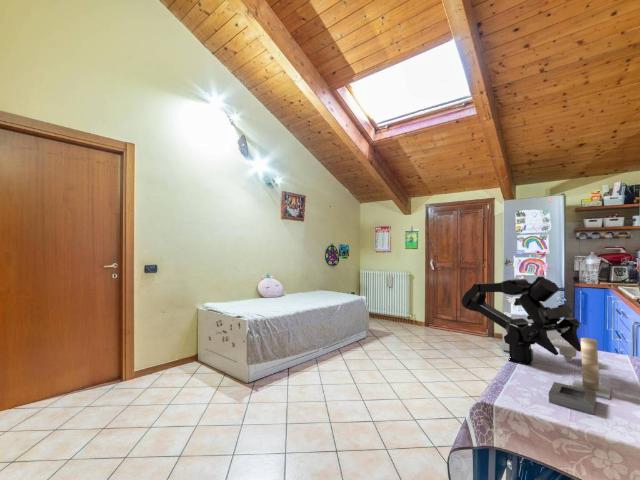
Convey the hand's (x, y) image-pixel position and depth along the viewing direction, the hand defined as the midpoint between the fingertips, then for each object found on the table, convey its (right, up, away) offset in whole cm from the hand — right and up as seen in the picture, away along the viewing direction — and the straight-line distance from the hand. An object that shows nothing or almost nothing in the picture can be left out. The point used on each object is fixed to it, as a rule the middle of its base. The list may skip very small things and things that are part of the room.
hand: (569, 352), depth 93 cm
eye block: (-9, -9, -12) cm, 17 cm away
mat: (+2, -8, -6) cm, 10 cm away
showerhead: (+13, -9, +17) cm, 23 cm away
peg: (+1, -8, -6) cm, 10 cm away
